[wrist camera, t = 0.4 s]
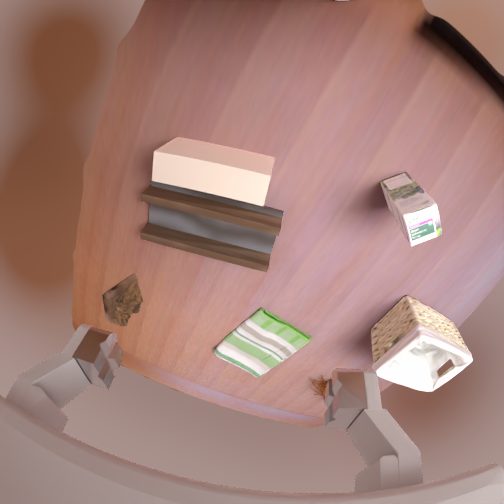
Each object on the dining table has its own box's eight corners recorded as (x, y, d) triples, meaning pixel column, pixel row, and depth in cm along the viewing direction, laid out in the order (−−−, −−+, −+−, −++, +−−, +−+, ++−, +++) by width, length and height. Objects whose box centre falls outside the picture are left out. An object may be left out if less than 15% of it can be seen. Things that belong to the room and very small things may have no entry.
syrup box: (387, 207, 52) (411, 249, 40) (378, 180, 49) (403, 216, 37) (413, 197, 49) (443, 237, 38) (406, 169, 47) (437, 203, 35)
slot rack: (152, 179, 55) (141, 189, 51) (283, 211, 55) (282, 223, 51) (150, 230, 62) (140, 242, 58) (267, 261, 62) (265, 276, 58)
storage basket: (362, 328, 70) (369, 376, 58) (405, 286, 61) (423, 334, 49) (419, 353, 74) (429, 394, 61) (459, 318, 65) (476, 360, 53)
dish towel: (213, 346, 82) (210, 356, 79) (259, 304, 70) (257, 314, 67) (261, 370, 86) (260, 380, 83) (313, 335, 74) (313, 345, 71)
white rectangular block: (177, 136, 50) (154, 151, 41) (275, 157, 50) (270, 176, 42) (174, 161, 53) (151, 180, 44) (268, 183, 53) (263, 206, 44)
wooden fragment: (122, 330, 85) (121, 332, 84) (94, 309, 82) (93, 312, 81) (157, 289, 72) (155, 291, 71) (122, 263, 69) (120, 265, 68)
